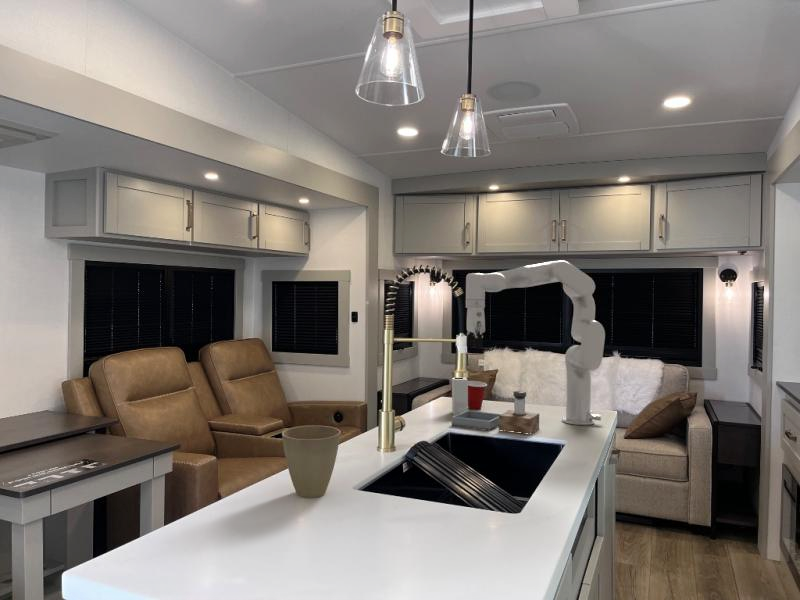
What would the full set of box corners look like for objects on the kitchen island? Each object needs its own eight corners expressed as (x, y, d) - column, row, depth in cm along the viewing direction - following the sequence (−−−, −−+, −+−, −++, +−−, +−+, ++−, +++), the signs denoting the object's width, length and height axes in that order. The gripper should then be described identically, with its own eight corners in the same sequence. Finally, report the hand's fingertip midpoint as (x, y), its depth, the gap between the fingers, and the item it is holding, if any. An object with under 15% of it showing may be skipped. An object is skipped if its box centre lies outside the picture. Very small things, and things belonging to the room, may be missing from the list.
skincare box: (468, 416, 252) (468, 379, 251) (452, 415, 252) (453, 379, 252) (466, 412, 260) (466, 377, 260) (451, 411, 260) (451, 376, 260)
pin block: (539, 428, 229) (539, 413, 229) (529, 434, 219) (529, 418, 219) (509, 425, 235) (509, 410, 235) (499, 430, 225) (499, 415, 225)
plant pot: (276, 487, 156) (277, 427, 155) (331, 481, 161) (332, 423, 161) (286, 506, 142) (287, 440, 142) (346, 499, 147) (347, 436, 147)
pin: (527, 429, 228) (527, 391, 228) (523, 431, 224) (523, 393, 223) (515, 427, 230) (515, 390, 230) (511, 430, 226) (511, 392, 226)
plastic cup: (476, 411, 261) (476, 385, 261) (458, 408, 269) (458, 382, 269) (491, 409, 268) (492, 382, 268) (474, 405, 276) (474, 380, 276)
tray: (504, 423, 238) (504, 414, 238) (489, 430, 224) (489, 421, 224) (467, 418, 246) (468, 410, 246) (451, 425, 232) (451, 416, 232)
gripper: (491, 304, 226) (490, 349, 226) (477, 303, 243) (476, 345, 243) (472, 304, 225) (472, 349, 225) (459, 303, 242) (459, 345, 242)
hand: (474, 347), depth 234 cm, fingers open, 9 cm apart
